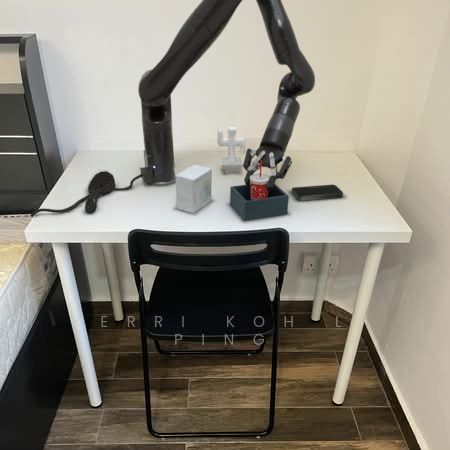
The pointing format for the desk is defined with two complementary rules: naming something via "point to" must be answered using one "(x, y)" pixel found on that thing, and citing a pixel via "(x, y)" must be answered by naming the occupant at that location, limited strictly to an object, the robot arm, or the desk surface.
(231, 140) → the figurine
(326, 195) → the phone
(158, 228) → the desk surface
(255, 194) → the beverage cup
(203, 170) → the cosmetics box
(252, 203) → the tub
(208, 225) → the desk surface
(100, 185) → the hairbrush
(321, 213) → the desk surface
